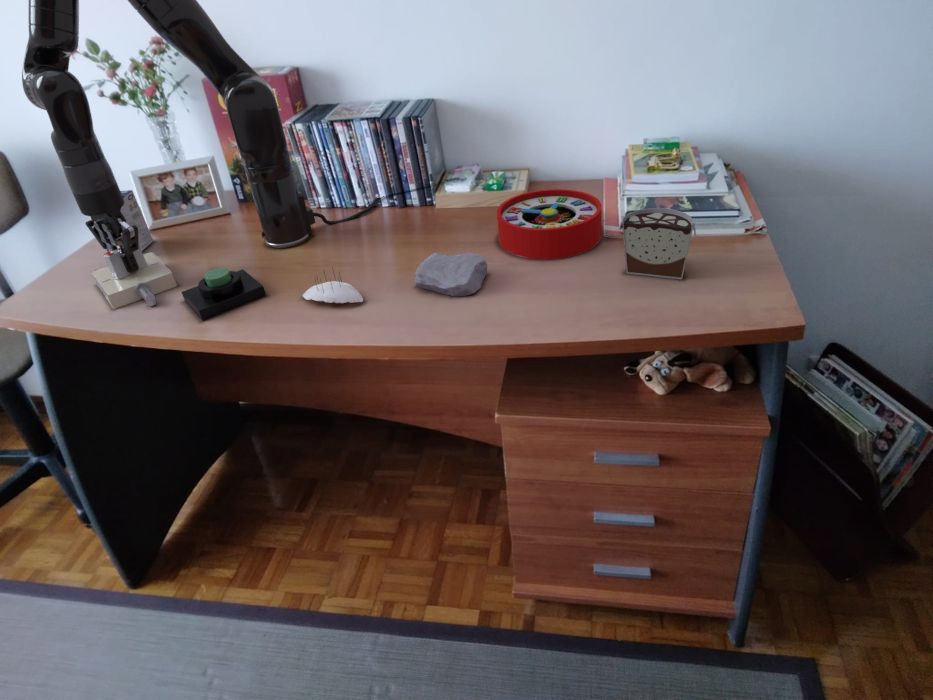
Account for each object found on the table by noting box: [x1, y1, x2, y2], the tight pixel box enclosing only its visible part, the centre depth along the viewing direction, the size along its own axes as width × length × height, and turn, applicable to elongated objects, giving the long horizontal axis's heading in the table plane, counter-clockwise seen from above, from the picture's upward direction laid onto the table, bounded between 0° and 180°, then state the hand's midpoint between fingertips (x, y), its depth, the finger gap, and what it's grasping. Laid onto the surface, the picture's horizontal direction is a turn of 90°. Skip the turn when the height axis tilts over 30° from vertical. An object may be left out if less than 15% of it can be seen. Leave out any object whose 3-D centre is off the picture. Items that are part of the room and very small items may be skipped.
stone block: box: [414, 252, 488, 298], centre depth 119 cm, size 12×5×10 cm
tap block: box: [91, 251, 178, 310], centre depth 132 cm, size 12×14×3 cm
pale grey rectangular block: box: [103, 246, 147, 280], centre depth 130 cm, size 6×2×5 cm, turn 148°
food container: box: [618, 207, 697, 280], centre depth 114 cm, size 12×6×10 cm, turn 65°
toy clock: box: [496, 188, 603, 260], centre depth 131 cm, size 20×6×20 cm
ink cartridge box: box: [105, 189, 154, 253], centre depth 144 cm, size 10×6×14 cm, turn 174°
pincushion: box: [301, 266, 364, 305], centre depth 118 cm, size 12×6×6 cm, turn 70°
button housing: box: [181, 268, 267, 322], centre depth 123 cm, size 12×10×4 cm
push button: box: [203, 267, 232, 287], centre depth 122 cm, size 4×4×2 cm
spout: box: [135, 282, 157, 307], centre depth 125 cm, size 3×5×3 cm, turn 37°
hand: (129, 269), depth 131 cm, fingers closed on pale grey rectangular block, 2 cm apart
